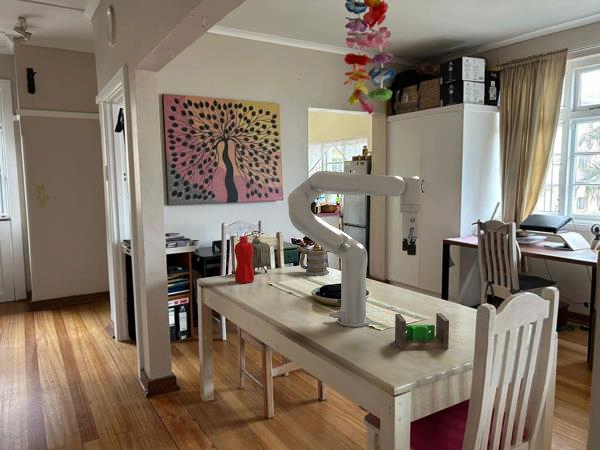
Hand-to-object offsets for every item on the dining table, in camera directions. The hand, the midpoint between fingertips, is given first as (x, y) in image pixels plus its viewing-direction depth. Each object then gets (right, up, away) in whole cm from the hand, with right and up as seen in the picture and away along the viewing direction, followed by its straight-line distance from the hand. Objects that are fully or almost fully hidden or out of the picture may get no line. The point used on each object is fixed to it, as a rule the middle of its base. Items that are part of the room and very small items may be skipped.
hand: (408, 252), depth 173 cm
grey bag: (-68, -18, +92) cm, 116 cm away
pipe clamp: (-2, -28, -22) cm, 36 cm away
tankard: (-35, -18, +90) cm, 99 cm away
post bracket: (-1, -30, -22) cm, 37 cm away
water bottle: (-72, -20, +69) cm, 101 cm away
